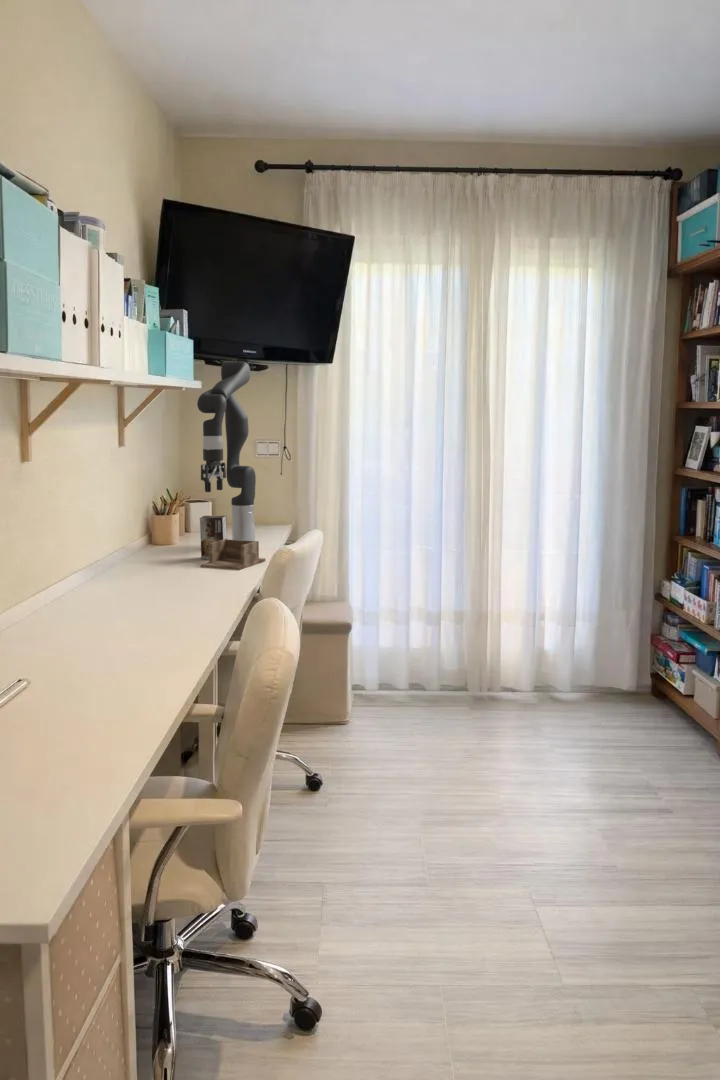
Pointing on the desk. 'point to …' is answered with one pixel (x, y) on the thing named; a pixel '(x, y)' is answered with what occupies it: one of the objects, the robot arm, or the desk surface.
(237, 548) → the holder
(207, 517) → the coffee box
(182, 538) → the desk surface
